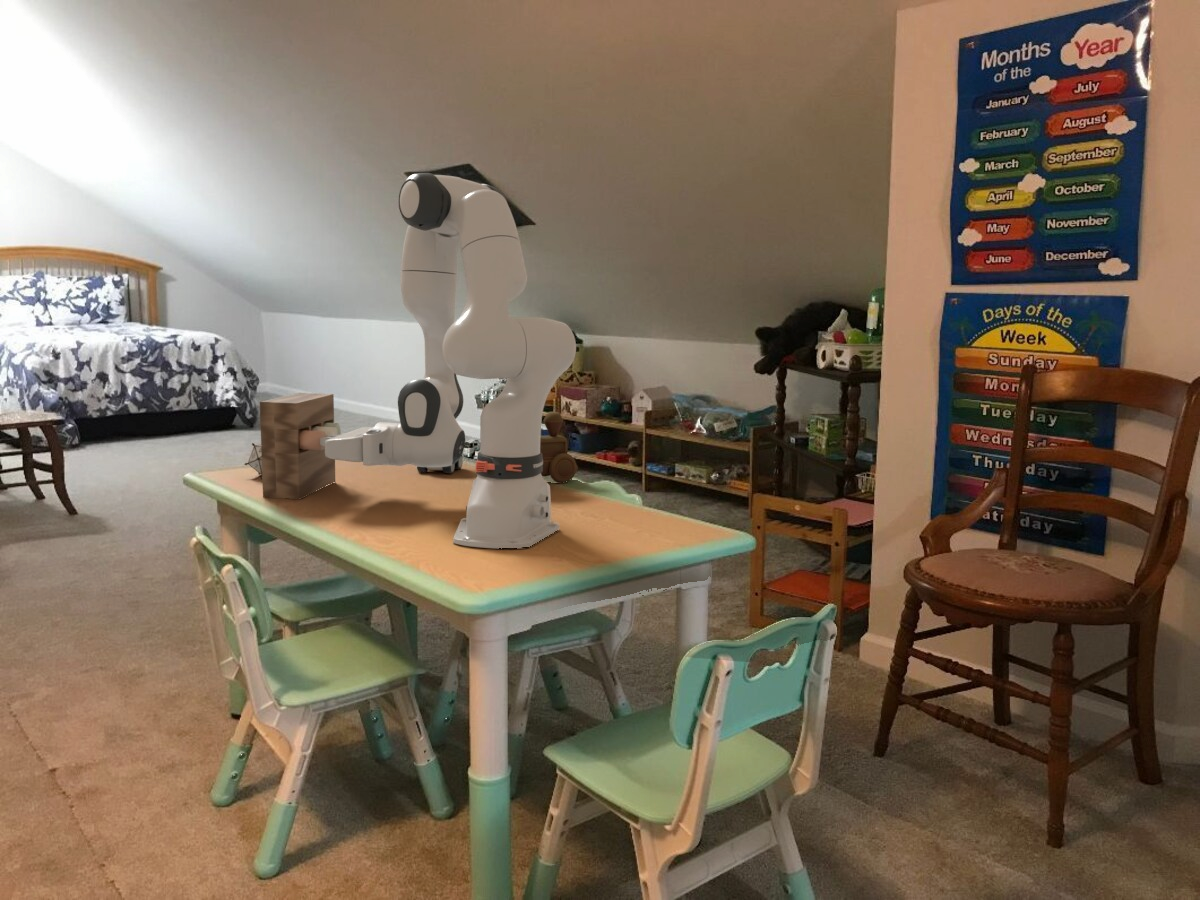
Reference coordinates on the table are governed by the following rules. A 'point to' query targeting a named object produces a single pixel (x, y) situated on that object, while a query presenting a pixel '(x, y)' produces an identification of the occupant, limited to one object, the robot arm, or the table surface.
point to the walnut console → (294, 445)
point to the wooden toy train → (556, 451)
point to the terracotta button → (310, 440)
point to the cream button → (326, 430)
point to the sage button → (333, 426)
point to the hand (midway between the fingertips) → (322, 440)
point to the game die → (256, 459)
